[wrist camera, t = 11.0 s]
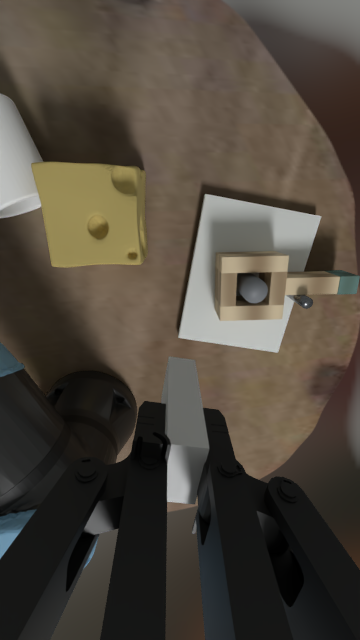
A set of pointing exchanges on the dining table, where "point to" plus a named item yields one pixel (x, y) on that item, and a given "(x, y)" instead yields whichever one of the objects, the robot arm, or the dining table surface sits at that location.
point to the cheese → (92, 212)
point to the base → (241, 238)
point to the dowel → (301, 300)
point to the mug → (16, 163)
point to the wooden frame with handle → (270, 284)
